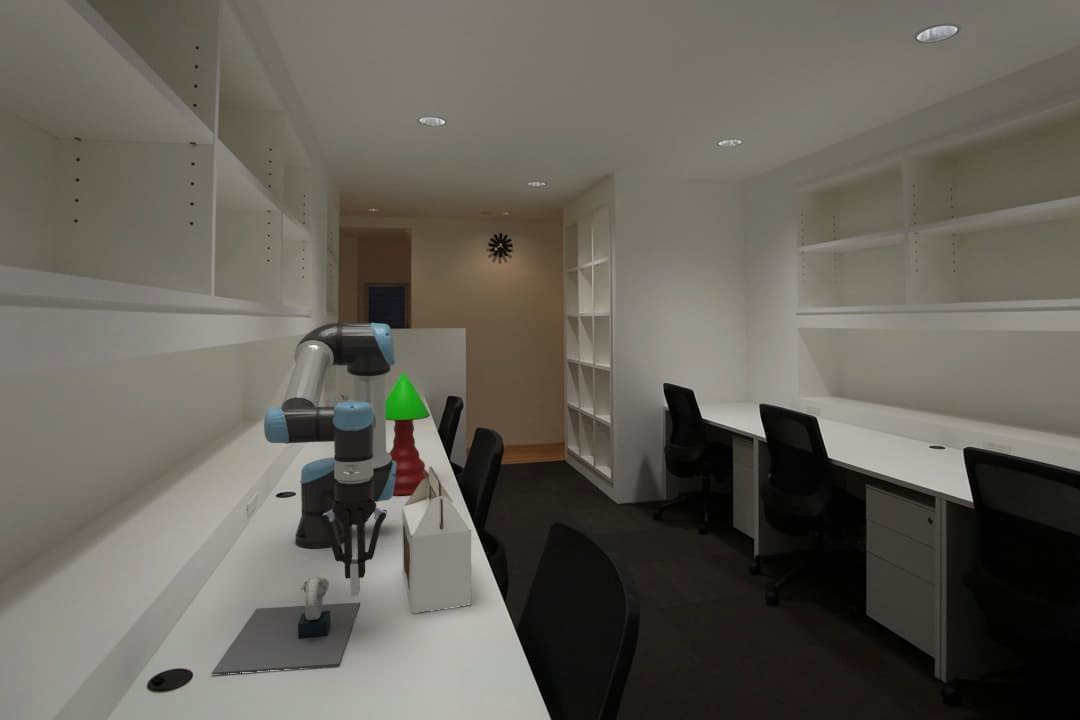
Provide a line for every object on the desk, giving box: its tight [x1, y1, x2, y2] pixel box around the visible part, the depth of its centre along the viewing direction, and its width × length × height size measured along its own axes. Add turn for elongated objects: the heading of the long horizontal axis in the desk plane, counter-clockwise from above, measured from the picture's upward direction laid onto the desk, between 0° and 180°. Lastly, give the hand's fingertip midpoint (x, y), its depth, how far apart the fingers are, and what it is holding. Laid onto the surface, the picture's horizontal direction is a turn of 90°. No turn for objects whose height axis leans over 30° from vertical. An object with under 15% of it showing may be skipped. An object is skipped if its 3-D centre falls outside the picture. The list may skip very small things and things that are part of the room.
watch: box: [298, 575, 330, 639], centre depth 119 cm, size 6×8×11 cm
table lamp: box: [385, 371, 431, 496], centre depth 223 cm, size 20×20×45 cm
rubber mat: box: [211, 602, 361, 675], centre depth 118 cm, size 24×22×1 cm
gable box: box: [401, 466, 472, 614], centre depth 139 cm, size 22×13×28 cm, turn 18°
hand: (355, 592), depth 120 cm, fingers closed
